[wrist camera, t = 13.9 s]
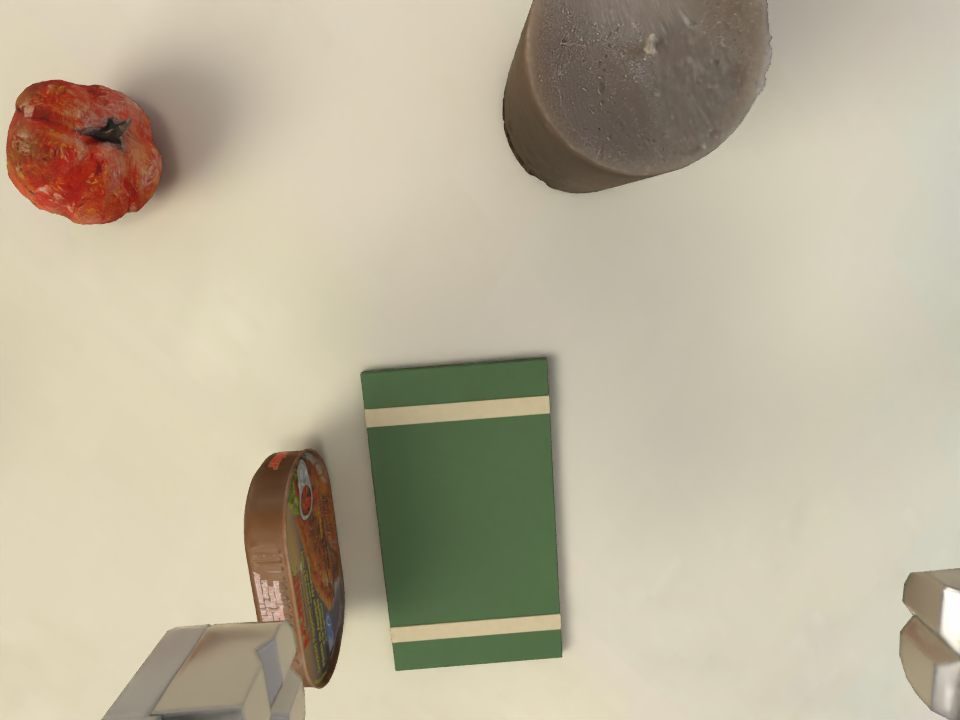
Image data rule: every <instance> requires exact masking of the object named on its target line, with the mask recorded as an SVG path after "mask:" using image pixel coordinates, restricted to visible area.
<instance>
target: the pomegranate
mask: <svg viewBox="0 0 960 720" xmlns="http://www.w3.org/2000/svg"><path fill="white" fill-rule="evenodd" d="M15 105H16V111H15V113H14V116H13V118H12V121H11V123H10V126H9V130H8V137H7V147H6V153H7V169H8V175H9V178H10V179H11V181H12V182H13V184H14V185H15V187H16V188H17V189H18V190H19V191H20V192H21V194H22V195H23V196H25V197H26V198H28V199H29V200H30V201H31V202H32V203H33V204H34V205H35V206H36V207H37V208H39V209H41V210H46V211H48V212H50V213H55V214H59V215H61V216H65V217H67V218H69V219H70V220H71V221H72V222H74V223H78V224H104V223H110V222H113V221H116V220H117V219H119V218H121V217H122V216H123V215H124V214H125V213H129V212H137V211H139V210H140V209H141V208H142V207H143V206H144V205H145V204H146V203H147V202H148V200H149V199H150V198H151V197H152V196H153V194H154V192H155V190H156V188H157V185H158V183H159V181H160V177H161V173H162V157H161V154H160V152H159V151H158V149H157V148H156V146H155V145H154V143H153V140H152V132H151V125H150V121H149V119H148V117H147V115H146V114H145V113H144V112H143V111H142V109H141V108H140V106H139V105H137V104H136V103H135V102H134V101H133V100H131V99H130V98H128V97H127V96H125V95H124V94H122V93H121V92H118V91H116V90H112V89H109V88H107V87H105V86H101V85H91V86H86V85H78V84H74V83H71V82H67V81H63V80H49V81H45V82H44V81H42V82H40V83H35V84H32V85H31V86H29V87H27V88H26V89H25V90H24V91H23V92H22V93H21V94H20V96H19V97H18V98H17V100H16V104H15Z"/></svg>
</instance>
